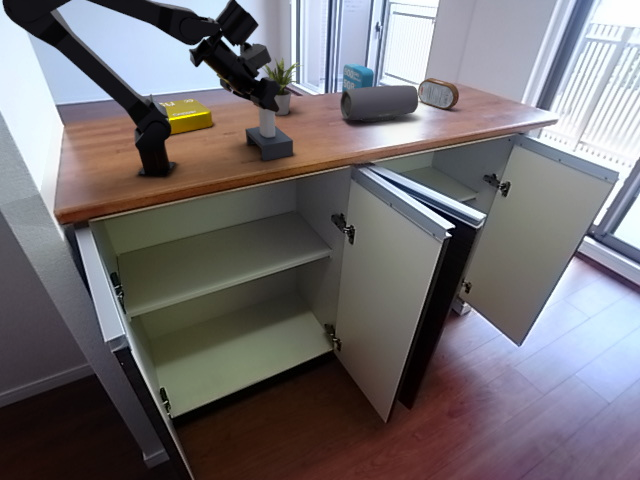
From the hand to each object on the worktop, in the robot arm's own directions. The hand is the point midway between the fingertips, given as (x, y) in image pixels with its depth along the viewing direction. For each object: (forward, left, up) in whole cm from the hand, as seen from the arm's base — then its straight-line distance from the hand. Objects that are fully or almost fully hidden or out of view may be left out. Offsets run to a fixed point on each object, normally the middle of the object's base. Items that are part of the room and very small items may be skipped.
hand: (271, 107), depth 91 cm
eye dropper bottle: (-1, +1, -7) cm, 7 cm away
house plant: (+27, 0, -11) cm, 29 cm away
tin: (+41, -52, -11) cm, 67 cm away
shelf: (-1, +1, -11) cm, 11 cm away
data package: (+40, -24, -11) cm, 48 cm away
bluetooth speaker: (+25, -30, -11) cm, 41 cm away
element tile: (+15, +29, -11) cm, 34 cm away
